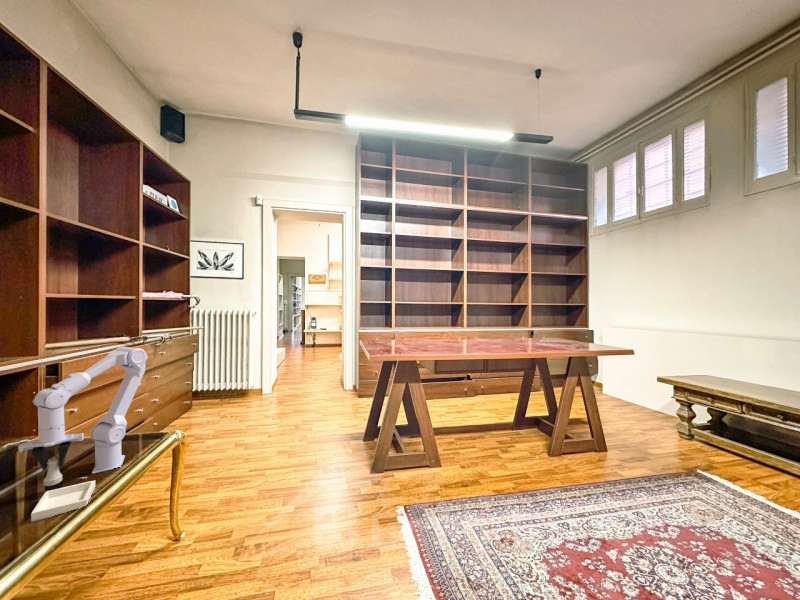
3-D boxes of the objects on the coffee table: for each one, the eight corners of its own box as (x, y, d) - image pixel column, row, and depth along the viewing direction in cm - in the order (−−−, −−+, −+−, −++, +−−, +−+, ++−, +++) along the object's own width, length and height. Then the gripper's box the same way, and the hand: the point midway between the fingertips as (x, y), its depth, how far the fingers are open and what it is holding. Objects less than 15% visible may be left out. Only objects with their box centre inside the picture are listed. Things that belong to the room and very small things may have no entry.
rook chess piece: (63, 477, 110) (63, 453, 110) (62, 483, 107) (63, 458, 107) (43, 482, 107) (43, 458, 107) (42, 488, 104) (42, 463, 104)
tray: (46, 499, 103) (45, 491, 103) (95, 487, 110) (95, 480, 109) (31, 522, 94) (31, 513, 93) (86, 507, 100) (86, 499, 100)
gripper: (13, 436, 99) (15, 480, 99) (79, 425, 107) (80, 466, 107) (23, 427, 105) (24, 468, 105) (85, 417, 113) (86, 456, 113)
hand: (53, 466), depth 107 cm, fingers closed on rook chess piece, 3 cm apart
